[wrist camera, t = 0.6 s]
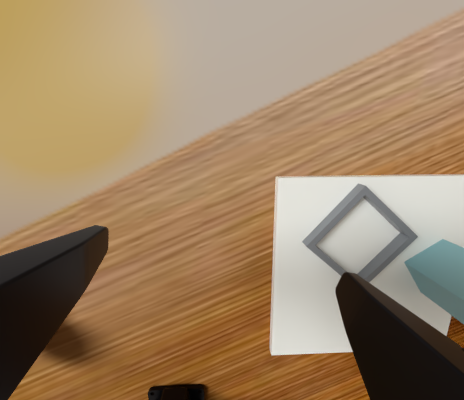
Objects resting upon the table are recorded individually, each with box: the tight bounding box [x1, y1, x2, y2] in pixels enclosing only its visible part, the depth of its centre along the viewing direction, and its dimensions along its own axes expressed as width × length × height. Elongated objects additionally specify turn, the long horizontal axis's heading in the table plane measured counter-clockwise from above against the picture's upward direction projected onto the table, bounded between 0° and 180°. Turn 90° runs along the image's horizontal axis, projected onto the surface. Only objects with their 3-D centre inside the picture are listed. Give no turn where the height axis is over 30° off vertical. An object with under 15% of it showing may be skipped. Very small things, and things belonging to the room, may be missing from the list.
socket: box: [302, 184, 418, 282], centre depth 23 cm, size 8×8×1 cm
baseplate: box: [270, 174, 464, 355], centre depth 25 cm, size 20×20×1 cm
